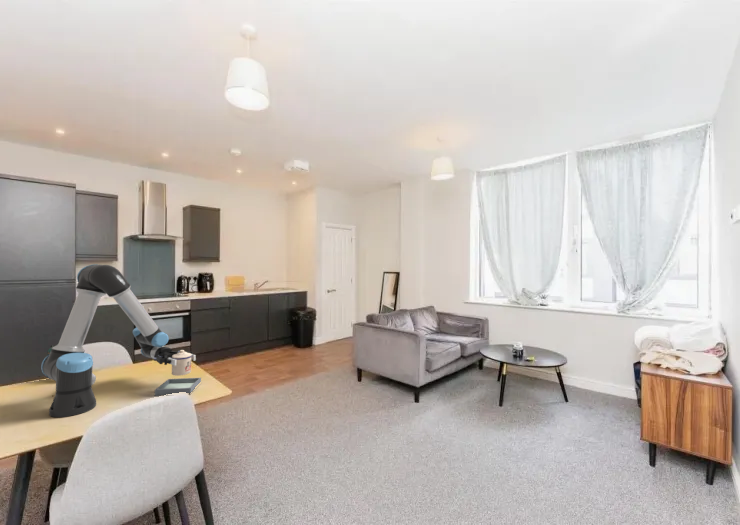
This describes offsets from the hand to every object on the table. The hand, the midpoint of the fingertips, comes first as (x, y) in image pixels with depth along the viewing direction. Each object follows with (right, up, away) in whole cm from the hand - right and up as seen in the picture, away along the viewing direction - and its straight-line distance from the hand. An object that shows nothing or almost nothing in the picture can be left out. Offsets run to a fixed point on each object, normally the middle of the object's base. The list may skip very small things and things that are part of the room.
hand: (185, 360), depth 165 cm
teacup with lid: (-3, -7, +3) cm, 9 cm away
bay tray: (-4, -16, +2) cm, 16 cm away
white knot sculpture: (-51, -15, -4) cm, 53 cm away
